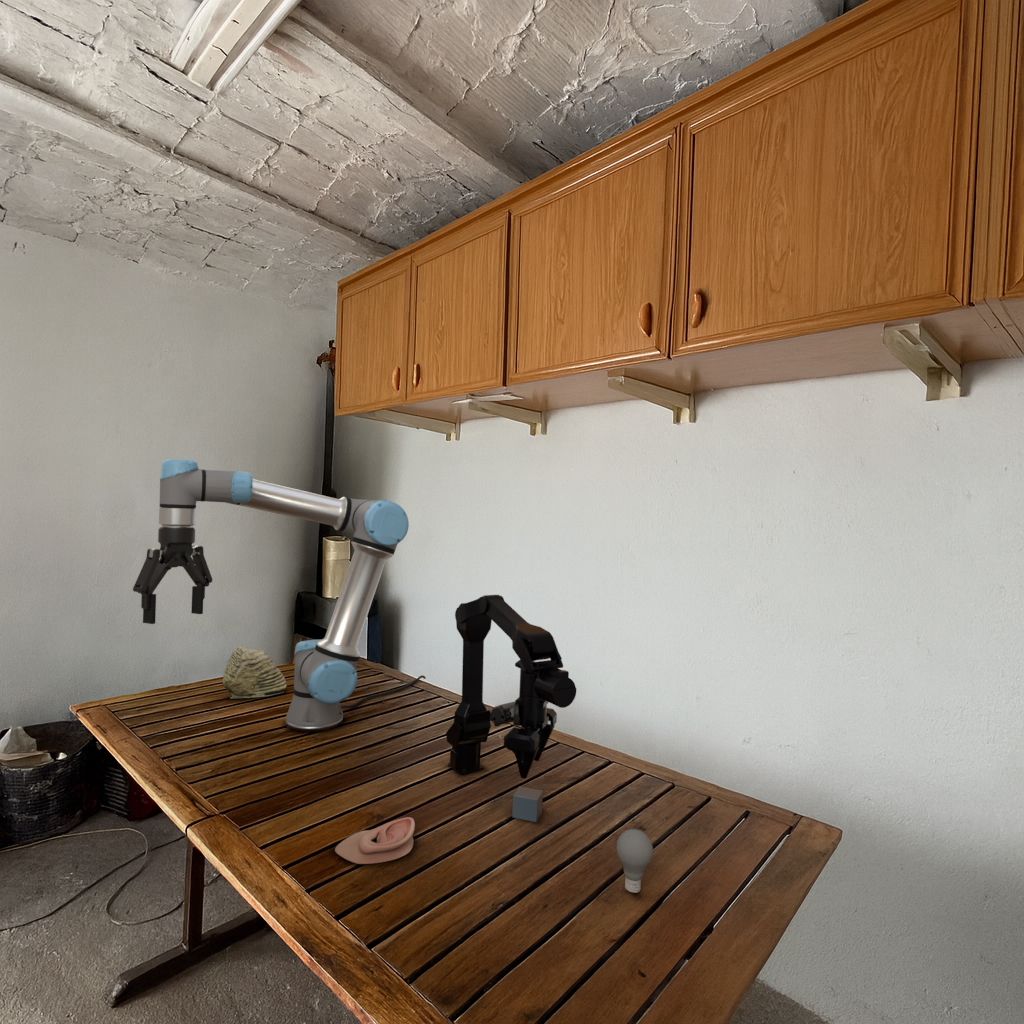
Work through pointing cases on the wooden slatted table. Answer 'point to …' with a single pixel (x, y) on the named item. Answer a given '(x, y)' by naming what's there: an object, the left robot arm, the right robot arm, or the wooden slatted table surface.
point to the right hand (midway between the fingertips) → (530, 769)
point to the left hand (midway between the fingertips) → (174, 618)
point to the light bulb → (634, 857)
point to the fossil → (252, 674)
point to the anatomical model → (379, 843)
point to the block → (527, 804)
